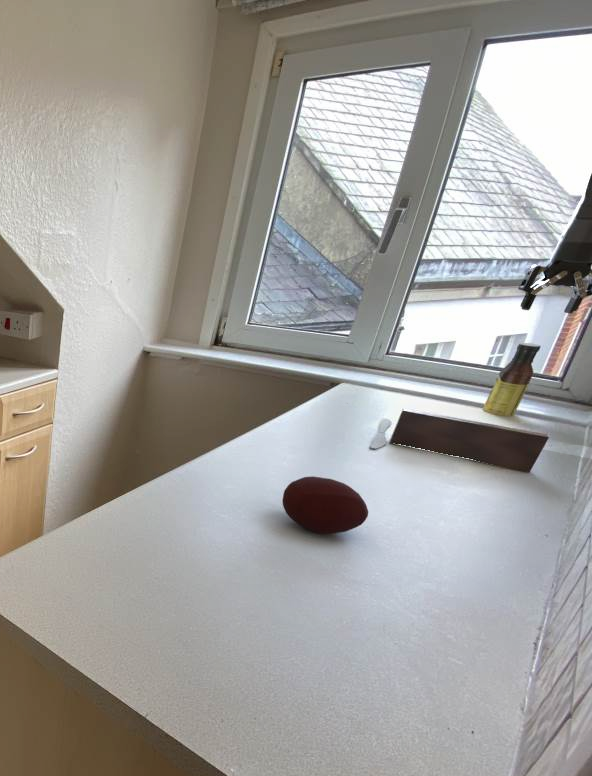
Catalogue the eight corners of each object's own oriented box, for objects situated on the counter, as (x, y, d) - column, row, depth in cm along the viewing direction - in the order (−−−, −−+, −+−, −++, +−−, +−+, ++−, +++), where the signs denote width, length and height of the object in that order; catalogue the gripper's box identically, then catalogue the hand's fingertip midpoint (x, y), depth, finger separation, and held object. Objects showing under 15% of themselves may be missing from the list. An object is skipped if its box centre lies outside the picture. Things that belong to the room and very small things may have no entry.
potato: (260, 514, 94) (275, 470, 90) (306, 504, 98) (321, 462, 94) (323, 550, 84) (341, 502, 81) (370, 537, 88) (391, 491, 84)
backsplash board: (527, 469, 116) (547, 434, 112) (529, 472, 114) (549, 437, 110) (389, 440, 128) (403, 408, 125) (389, 443, 127) (403, 410, 123)
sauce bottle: (492, 414, 149) (528, 341, 140) (516, 422, 144) (556, 346, 135) (472, 415, 148) (507, 341, 139) (496, 423, 143) (534, 347, 134)
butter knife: (396, 420, 140) (382, 416, 141) (382, 450, 122) (366, 445, 123) (395, 422, 140) (381, 419, 142) (380, 452, 122) (365, 448, 124)
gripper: (553, 239, 128) (519, 311, 135) (632, 242, 124) (592, 316, 131) (535, 238, 134) (503, 306, 141) (609, 241, 130) (573, 311, 137)
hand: (546, 311), depth 136 cm, fingers open, 8 cm apart
